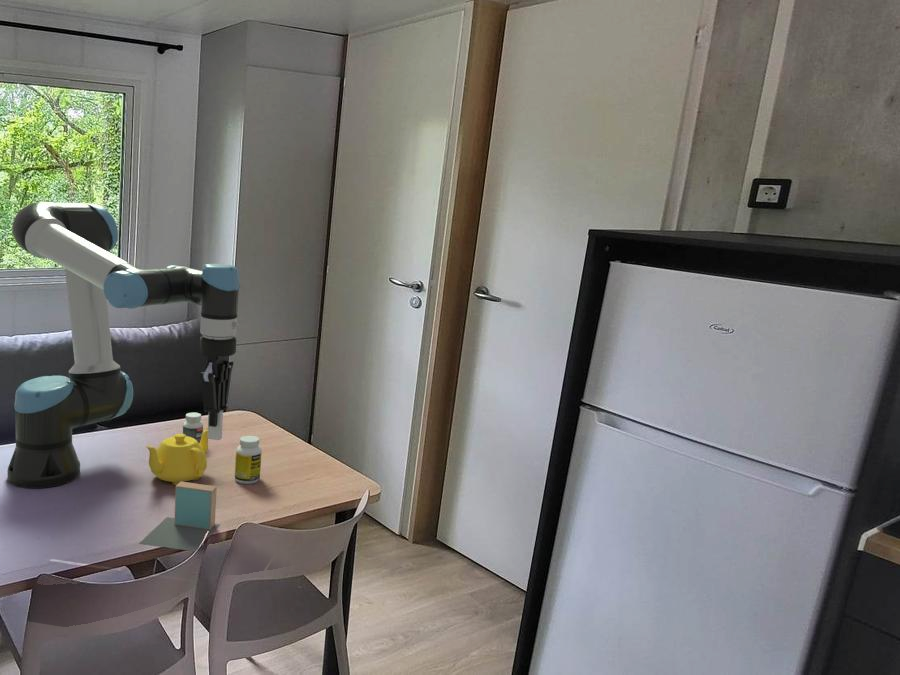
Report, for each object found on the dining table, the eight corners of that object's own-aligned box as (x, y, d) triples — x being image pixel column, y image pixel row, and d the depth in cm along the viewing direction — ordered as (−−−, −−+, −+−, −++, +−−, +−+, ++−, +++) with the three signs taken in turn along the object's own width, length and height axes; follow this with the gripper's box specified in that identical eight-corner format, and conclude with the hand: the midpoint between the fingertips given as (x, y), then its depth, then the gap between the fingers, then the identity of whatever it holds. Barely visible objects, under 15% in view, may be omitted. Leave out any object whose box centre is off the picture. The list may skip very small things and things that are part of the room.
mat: (139, 545, 145) (139, 543, 145) (166, 518, 157) (166, 517, 157) (196, 553, 144) (196, 551, 144) (219, 526, 156) (219, 524, 156)
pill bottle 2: (252, 486, 177) (255, 444, 175) (229, 482, 178) (232, 440, 176) (264, 477, 183) (266, 436, 181) (242, 473, 184) (244, 432, 182)
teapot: (168, 501, 165) (169, 455, 162) (125, 483, 171) (126, 438, 169) (233, 476, 182) (235, 433, 180) (192, 460, 189) (194, 419, 186)
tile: (174, 524, 154) (175, 486, 152) (179, 519, 156) (180, 481, 154) (210, 530, 153) (211, 491, 151) (214, 524, 156) (216, 486, 154)
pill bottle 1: (198, 449, 196) (199, 418, 194) (179, 447, 196) (180, 416, 194) (204, 442, 201) (206, 412, 199) (186, 440, 201) (187, 410, 199)
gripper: (223, 343, 148) (219, 450, 153) (246, 332, 161) (241, 431, 166) (188, 339, 149) (185, 446, 153) (213, 328, 161) (210, 427, 166)
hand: (214, 438), depth 160 cm, fingers closed
